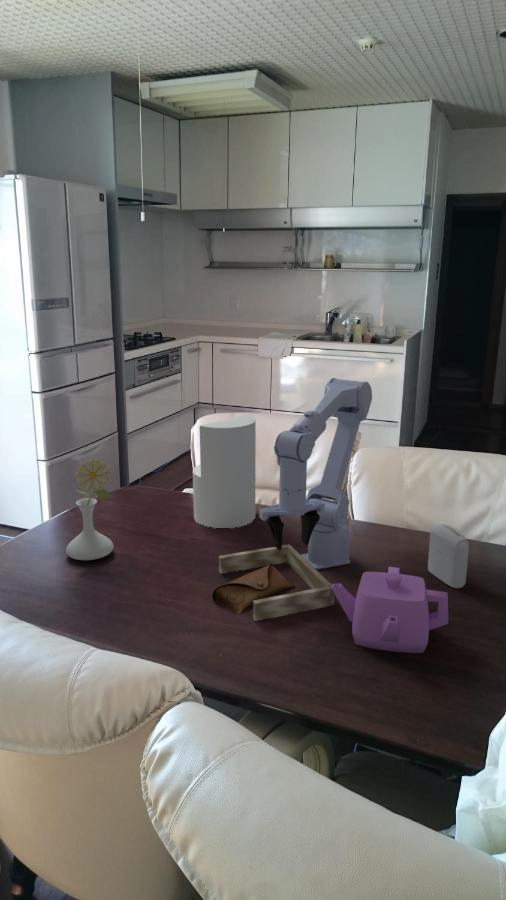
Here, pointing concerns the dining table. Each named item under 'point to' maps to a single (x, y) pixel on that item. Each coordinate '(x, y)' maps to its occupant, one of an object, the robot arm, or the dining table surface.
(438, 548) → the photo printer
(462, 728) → the dining table surface
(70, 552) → the flower in vase
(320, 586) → the open wooden frame
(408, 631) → the teakettle
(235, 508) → the cylinder
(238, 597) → the sunglasses case
